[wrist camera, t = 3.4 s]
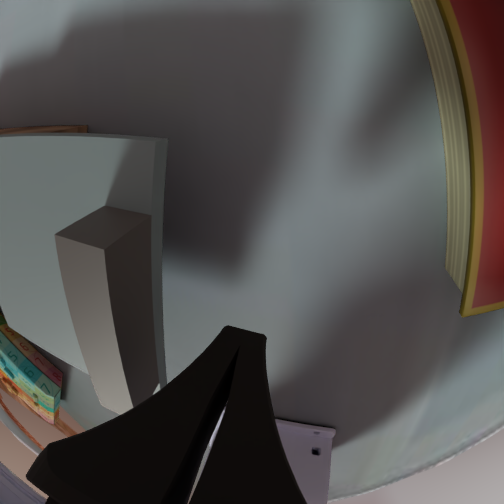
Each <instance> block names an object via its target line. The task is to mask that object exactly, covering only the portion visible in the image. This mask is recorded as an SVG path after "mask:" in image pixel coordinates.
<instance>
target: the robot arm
mask: <svg viewBox="0 0 504 504" xmlns="http://www.w3.org/2000/svg"><path fill="white" fill-rule="evenodd" d="M266 340H267V338H266V336H265V335H264V334H260V333H256V332H252V331H248V330H244V329H240V328H236V327H232V326H229V325H227V326H225V327H224V328H223V329H222V331H221V332H220V333H219V335H218V336H217V337H216V338H215V339H214V341H213V342H212V343H211V344H210V345H209V346H208V347H207V348H206V349H205V351H204V352H203V353H202V354H201V355H200V356H199V357H198V358H197V359H195V360H194V361H193V362H192V363H191V364H190V365H189V366H188V367H187V368H186V369H185V370H184V371H183V372H181V373H180V374H179V375H178V376H177V377H176V378H174V379H173V380H172V381H171V382H170V383H168V384H167V385H166V386H164V387H163V388H162V389H161V390H159V391H158V392H156V393H155V394H154V395H152V396H151V397H149V398H148V399H146V400H145V401H143V402H142V403H140V404H138V405H137V406H135V407H133V408H132V409H130V410H128V411H127V412H125V413H123V414H121V415H120V416H118V417H116V418H114V419H112V420H110V421H107V422H105V423H103V424H101V425H99V426H97V427H94V428H92V429H90V430H87V431H85V432H82V433H80V434H77V435H74V436H71V437H68V438H65V439H62V440H59V441H56V442H52V443H49V444H48V445H47V447H46V448H45V449H44V450H43V451H42V452H41V453H40V454H39V455H38V457H37V458H36V460H35V462H34V463H33V465H32V466H31V468H30V469H29V471H28V472H27V474H26V478H27V480H29V481H30V482H31V483H32V484H33V485H35V486H36V487H37V488H39V489H40V490H41V491H43V492H44V493H45V494H47V495H48V496H49V497H48V499H46V498H44V497H43V496H41V495H40V494H39V493H37V492H36V491H35V490H33V489H32V488H31V487H29V486H28V485H27V484H26V483H24V482H23V481H22V480H21V479H20V478H18V477H17V476H16V475H15V474H14V473H12V472H11V471H10V470H9V469H8V468H7V467H6V466H5V465H3V464H2V463H1V462H0V504H187V503H188V500H189V497H190V494H191V491H192V488H193V485H194V482H195V479H196V476H197V473H198V470H199V467H200V464H201V461H202V458H203V455H204V453H205V450H206V448H207V445H208V443H209V441H210V444H209V446H210V449H209V452H208V455H207V458H206V461H205V464H204V466H203V469H202V472H201V475H200V478H199V480H198V483H197V486H196V488H195V491H194V493H193V495H192V498H191V500H190V502H189V504H327V499H328V490H329V479H330V466H331V451H332V438H333V437H334V436H335V433H336V431H335V429H333V428H326V427H319V426H313V425H306V424H300V423H295V422H289V421H284V420H279V419H275V417H274V413H273V408H272V404H271V398H270V393H269V386H268V379H267V370H266ZM227 401H228V402H227ZM226 403H227V406H226V407H225V405H226Z"/></svg>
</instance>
